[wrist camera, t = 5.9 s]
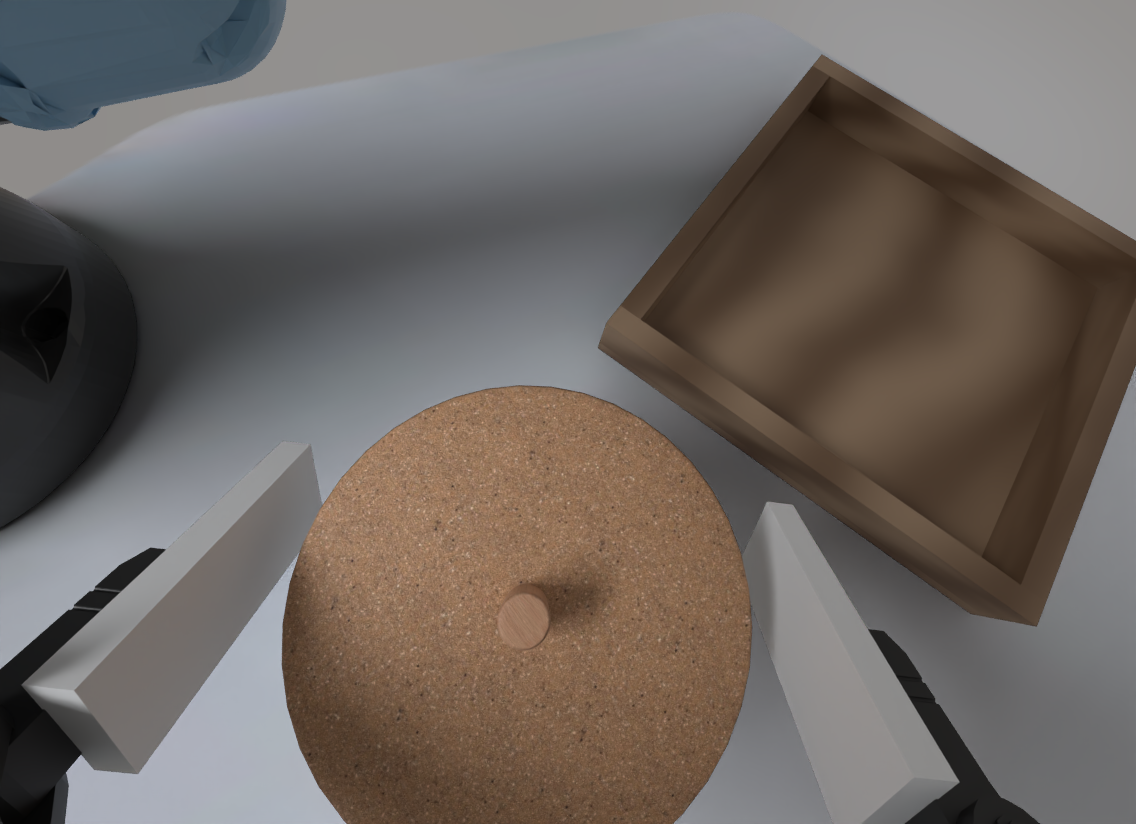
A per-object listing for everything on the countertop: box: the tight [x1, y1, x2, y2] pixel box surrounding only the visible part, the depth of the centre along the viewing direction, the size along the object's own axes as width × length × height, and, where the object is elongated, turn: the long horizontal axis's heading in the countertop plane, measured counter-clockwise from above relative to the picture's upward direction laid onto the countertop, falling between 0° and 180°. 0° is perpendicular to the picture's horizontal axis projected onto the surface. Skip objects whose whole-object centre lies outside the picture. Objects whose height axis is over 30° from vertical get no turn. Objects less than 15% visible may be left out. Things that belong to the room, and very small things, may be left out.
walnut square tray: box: [598, 55, 1136, 627], centre depth 20 cm, size 19×19×2 cm
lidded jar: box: [282, 385, 752, 824], centre depth 13 cm, size 11×11×9 cm
